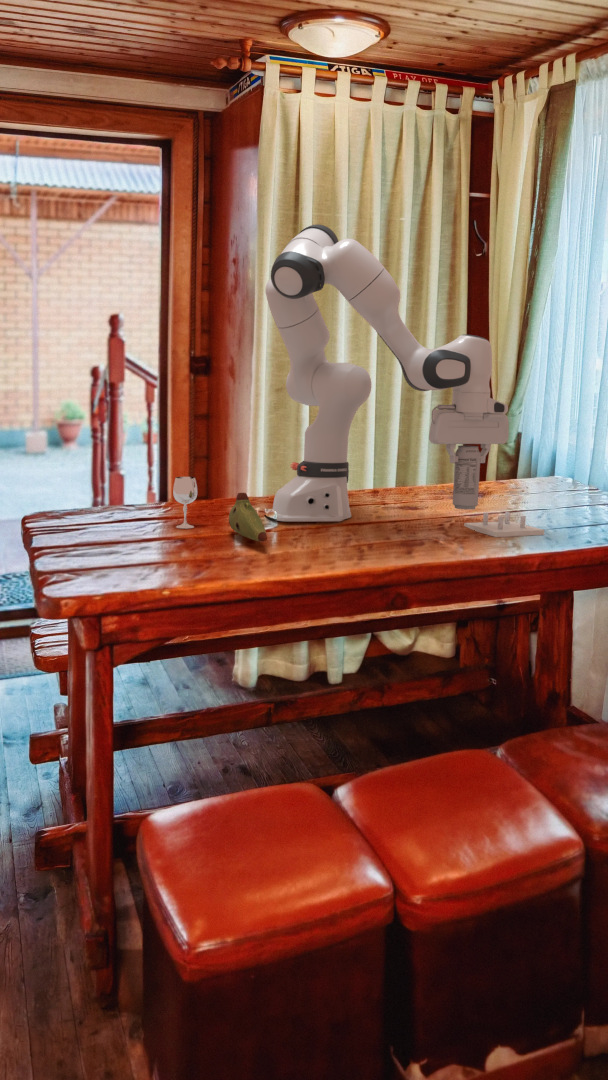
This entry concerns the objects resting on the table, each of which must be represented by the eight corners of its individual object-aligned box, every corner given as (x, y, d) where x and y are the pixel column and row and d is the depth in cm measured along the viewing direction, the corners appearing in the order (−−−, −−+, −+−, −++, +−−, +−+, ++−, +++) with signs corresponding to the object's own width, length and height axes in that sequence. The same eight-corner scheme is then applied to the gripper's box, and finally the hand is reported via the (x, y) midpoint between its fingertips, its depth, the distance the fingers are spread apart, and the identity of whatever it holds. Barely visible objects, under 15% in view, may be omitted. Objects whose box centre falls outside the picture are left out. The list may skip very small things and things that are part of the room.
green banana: (277, 544, 199) (278, 499, 197) (254, 546, 196) (255, 500, 195) (241, 530, 216) (242, 489, 215) (220, 531, 214) (221, 489, 212)
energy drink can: (480, 507, 220) (484, 446, 217) (472, 510, 215) (476, 447, 212) (457, 505, 223) (460, 444, 220) (448, 508, 218) (451, 446, 215)
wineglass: (170, 525, 220) (170, 476, 218) (193, 524, 222) (194, 476, 220) (176, 529, 215) (176, 479, 212) (199, 528, 217) (199, 478, 214)
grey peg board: (495, 537, 215) (496, 519, 215) (464, 527, 228) (465, 511, 227) (544, 534, 221) (545, 517, 220) (510, 525, 233) (511, 509, 233)
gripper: (439, 404, 208) (436, 464, 210) (514, 406, 215) (510, 463, 218) (425, 403, 213) (422, 462, 216) (499, 405, 221) (495, 461, 223)
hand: (467, 463), depth 217 cm, fingers closed on energy drink can, 6 cm apart
